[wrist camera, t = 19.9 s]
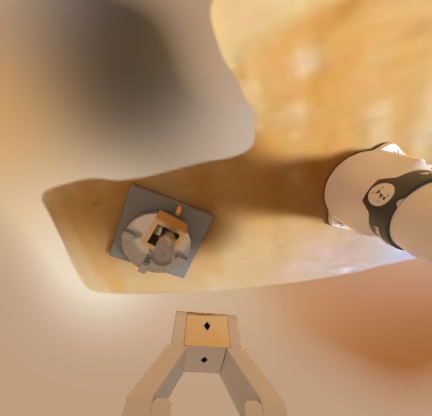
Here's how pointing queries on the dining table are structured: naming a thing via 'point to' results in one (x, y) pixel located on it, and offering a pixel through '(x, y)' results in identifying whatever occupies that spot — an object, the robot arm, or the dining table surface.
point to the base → (150, 200)
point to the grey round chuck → (155, 239)
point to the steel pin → (164, 247)
